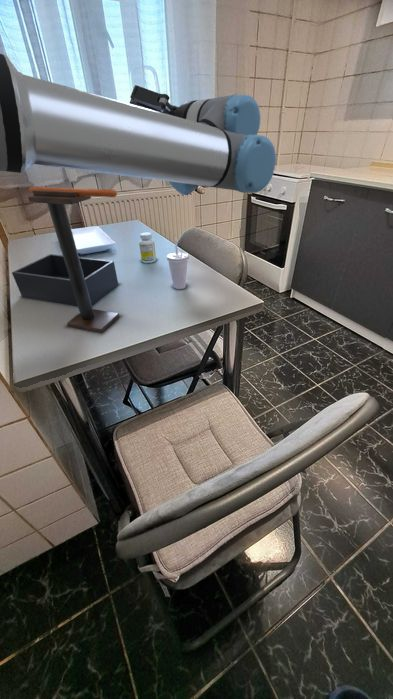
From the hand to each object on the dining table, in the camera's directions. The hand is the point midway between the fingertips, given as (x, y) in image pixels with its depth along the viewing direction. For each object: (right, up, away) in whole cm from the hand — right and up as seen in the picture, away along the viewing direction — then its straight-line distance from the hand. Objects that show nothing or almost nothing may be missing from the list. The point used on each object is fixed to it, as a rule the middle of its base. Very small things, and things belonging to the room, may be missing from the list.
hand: (152, 125), depth 77 cm
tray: (-35, -14, +50) cm, 62 cm away
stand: (-15, -51, -2) cm, 53 cm away
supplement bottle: (-6, -26, +32) cm, 42 cm away
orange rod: (-13, -29, -20) cm, 37 cm away
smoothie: (+6, -39, +14) cm, 42 cm away
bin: (-27, -41, +13) cm, 50 cm away
